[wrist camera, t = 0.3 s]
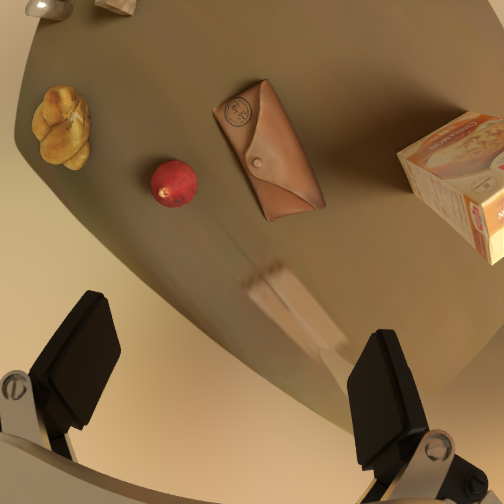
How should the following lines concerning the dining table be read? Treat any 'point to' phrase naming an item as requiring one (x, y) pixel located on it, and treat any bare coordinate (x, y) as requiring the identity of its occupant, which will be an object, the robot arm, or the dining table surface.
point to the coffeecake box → (463, 178)
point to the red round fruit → (174, 183)
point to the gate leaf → (118, 6)
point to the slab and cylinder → (49, 9)
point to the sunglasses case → (270, 152)
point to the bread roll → (63, 127)
